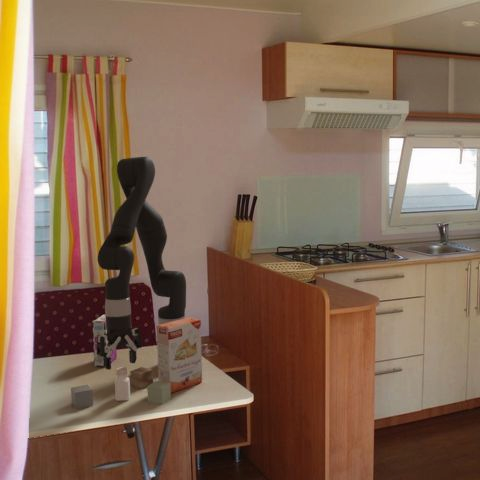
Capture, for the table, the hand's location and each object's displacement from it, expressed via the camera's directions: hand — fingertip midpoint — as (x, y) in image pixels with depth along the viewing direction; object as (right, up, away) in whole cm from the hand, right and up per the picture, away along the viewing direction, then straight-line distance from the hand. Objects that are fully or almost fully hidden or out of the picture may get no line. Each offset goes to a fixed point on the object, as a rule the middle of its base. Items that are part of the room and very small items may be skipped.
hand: (120, 365), depth 199 cm
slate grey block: (-11, -11, -2) cm, 16 cm away
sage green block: (+12, -10, -1) cm, 16 cm away
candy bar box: (-12, -6, +38) cm, 41 cm away
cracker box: (+17, -9, +11) cm, 22 cm away
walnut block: (+5, -9, +13) cm, 16 cm away
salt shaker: (+1, -10, +1) cm, 11 cm away
